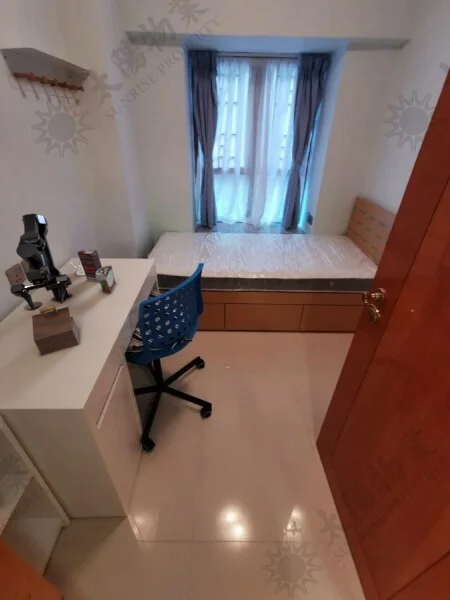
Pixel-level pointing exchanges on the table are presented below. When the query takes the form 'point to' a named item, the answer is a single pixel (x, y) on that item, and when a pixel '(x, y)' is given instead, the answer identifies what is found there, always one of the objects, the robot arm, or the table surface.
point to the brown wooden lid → (51, 322)
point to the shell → (80, 270)
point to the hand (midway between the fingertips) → (47, 306)
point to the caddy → (59, 340)
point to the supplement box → (90, 263)
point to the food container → (106, 278)
